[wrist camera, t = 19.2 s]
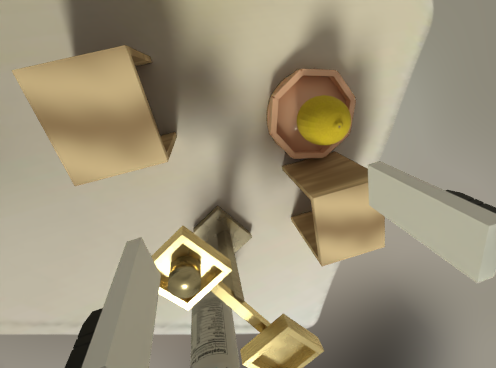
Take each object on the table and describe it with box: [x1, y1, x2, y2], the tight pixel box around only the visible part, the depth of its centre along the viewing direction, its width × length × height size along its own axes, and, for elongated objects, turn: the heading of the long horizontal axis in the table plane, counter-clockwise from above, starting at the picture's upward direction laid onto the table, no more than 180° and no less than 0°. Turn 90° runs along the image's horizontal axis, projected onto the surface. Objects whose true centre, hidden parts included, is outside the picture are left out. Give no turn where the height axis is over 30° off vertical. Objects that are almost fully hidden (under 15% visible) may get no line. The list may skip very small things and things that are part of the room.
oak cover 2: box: [282, 152, 385, 266], centre depth 34 cm, size 9×8×11 cm
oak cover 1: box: [12, 45, 177, 186], centre depth 25 cm, size 9×8×11 cm
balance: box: [151, 206, 324, 368], centre depth 31 cm, size 19×6×17 cm, turn 43°
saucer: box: [267, 69, 356, 159], centre depth 33 cm, size 11×11×2 cm
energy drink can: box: [190, 291, 240, 368], centre depth 36 cm, size 6×6×15 cm
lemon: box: [297, 95, 351, 145], centre depth 30 cm, size 6×6×8 cm
